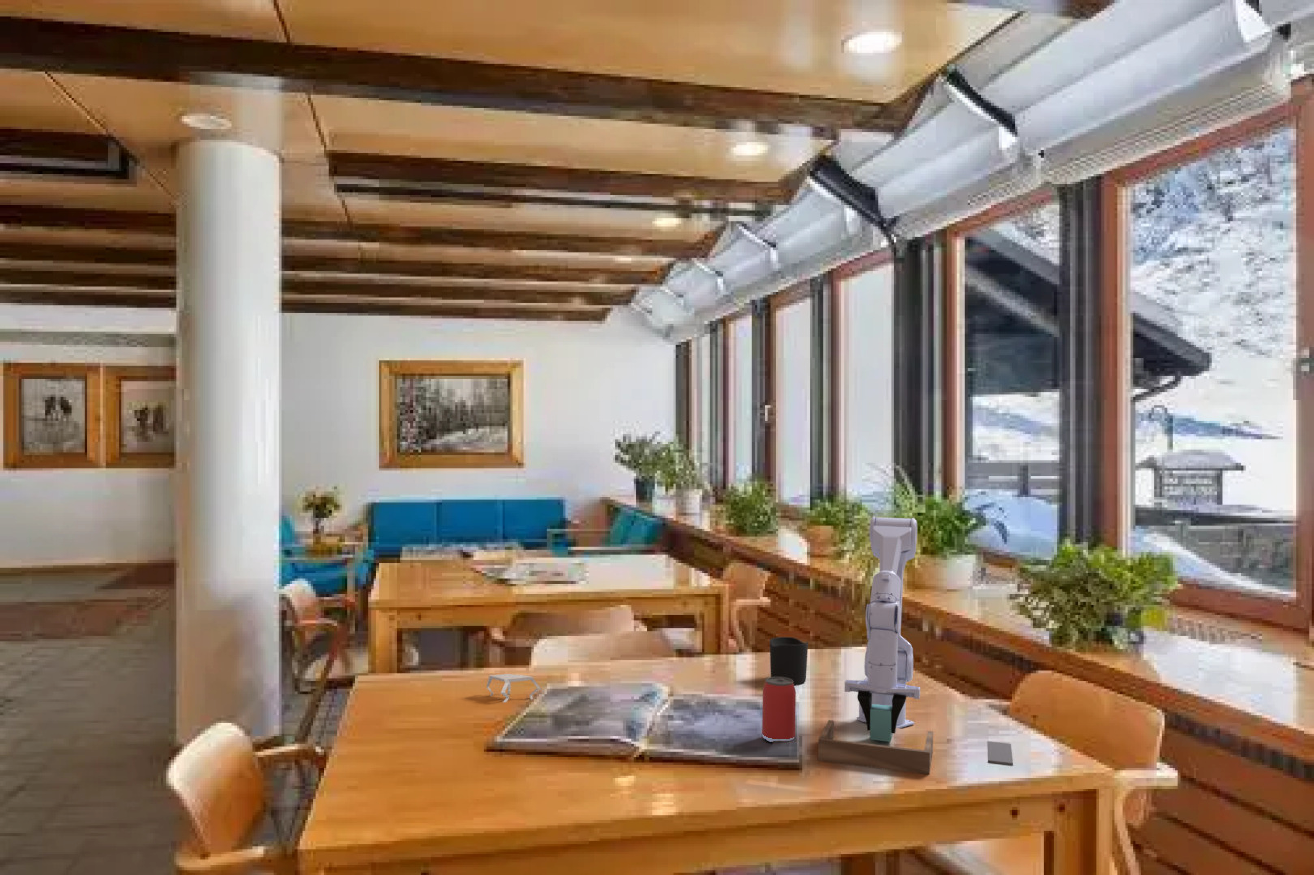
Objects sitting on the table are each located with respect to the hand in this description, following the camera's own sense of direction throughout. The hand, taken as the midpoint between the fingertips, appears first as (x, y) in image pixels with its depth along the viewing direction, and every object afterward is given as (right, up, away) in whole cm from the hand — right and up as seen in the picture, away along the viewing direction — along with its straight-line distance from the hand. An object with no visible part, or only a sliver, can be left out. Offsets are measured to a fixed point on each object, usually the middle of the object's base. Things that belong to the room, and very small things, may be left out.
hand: (881, 730), depth 189 cm
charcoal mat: (+18, -3, -4) cm, 19 cm away
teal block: (0, -1, 0) cm, 1 cm away
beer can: (-20, -3, +2) cm, 21 cm away
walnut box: (-3, -3, -9) cm, 10 cm away
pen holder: (-12, -3, +48) cm, 49 cm away
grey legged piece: (-78, -2, +29) cm, 83 cm away
